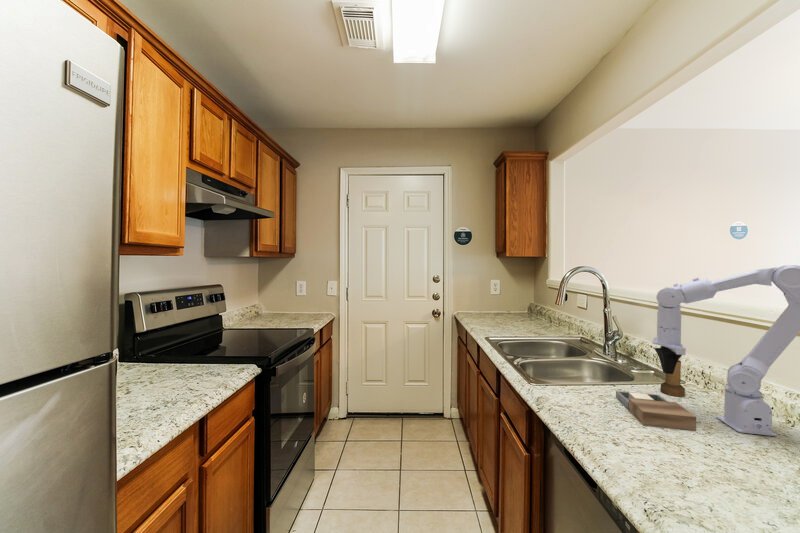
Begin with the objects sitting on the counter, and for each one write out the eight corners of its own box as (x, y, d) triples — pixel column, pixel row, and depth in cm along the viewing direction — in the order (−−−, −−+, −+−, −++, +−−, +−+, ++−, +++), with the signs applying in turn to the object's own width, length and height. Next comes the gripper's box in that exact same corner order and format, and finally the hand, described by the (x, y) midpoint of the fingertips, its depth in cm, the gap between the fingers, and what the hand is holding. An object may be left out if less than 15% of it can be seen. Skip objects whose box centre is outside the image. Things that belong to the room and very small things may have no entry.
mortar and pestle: (689, 397, 115) (690, 342, 114) (666, 395, 116) (668, 341, 116) (677, 390, 121) (679, 338, 121) (656, 389, 122) (657, 336, 122)
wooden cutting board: (696, 430, 91) (696, 417, 91) (643, 425, 94) (643, 411, 94) (675, 414, 101) (676, 402, 101) (628, 410, 104) (628, 398, 104)
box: (675, 414, 101) (675, 407, 101) (627, 409, 104) (628, 402, 104) (658, 401, 111) (658, 394, 111) (615, 397, 114) (616, 390, 114)
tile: (646, 393, 111) (646, 400, 111) (628, 392, 112) (628, 398, 112) (654, 399, 106) (654, 406, 106) (635, 398, 107) (635, 404, 107)
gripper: (643, 323, 114) (642, 365, 114) (665, 331, 100) (664, 379, 100) (668, 324, 112) (667, 367, 112) (694, 332, 98) (693, 381, 98)
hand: (667, 373), depth 106 cm, fingers closed
